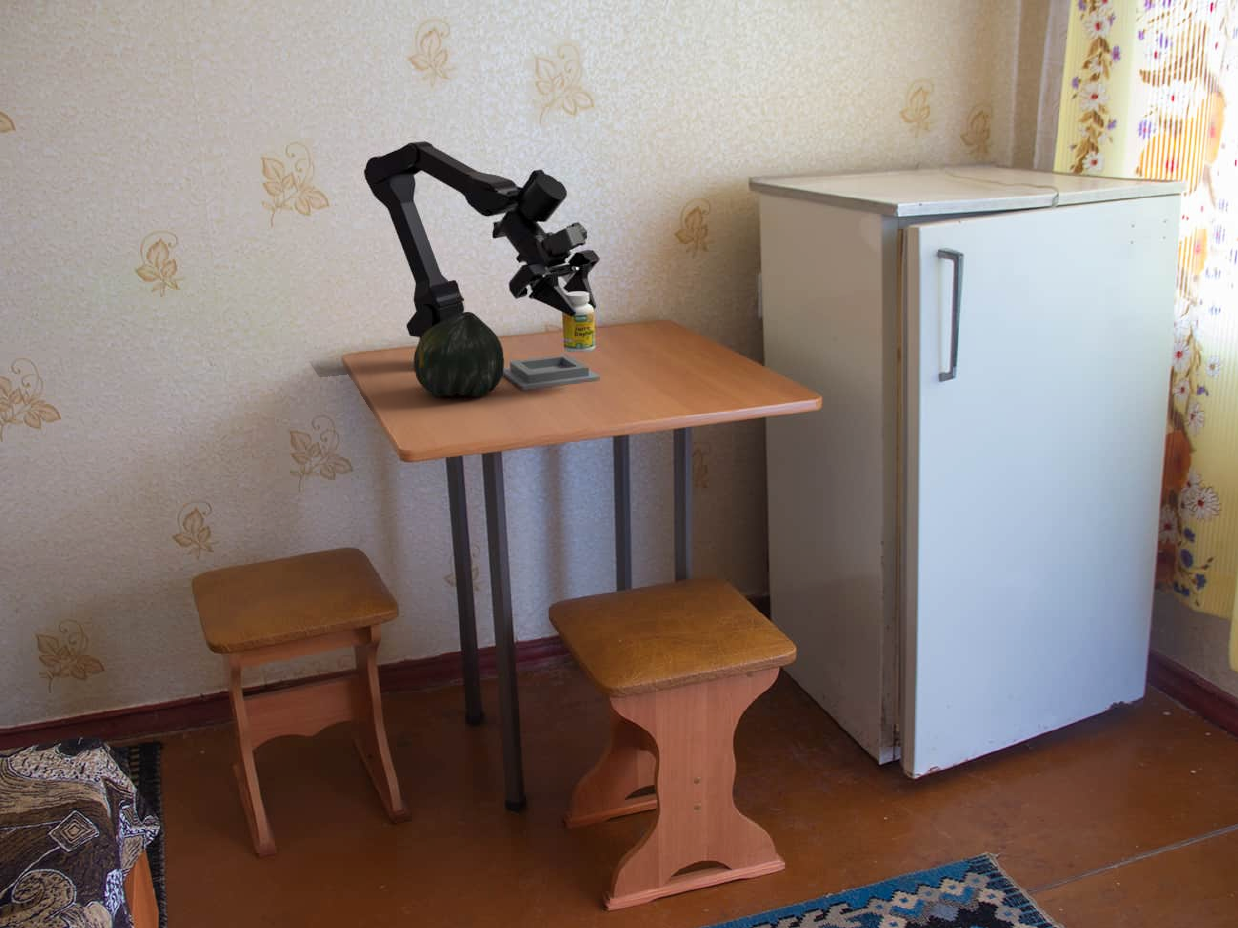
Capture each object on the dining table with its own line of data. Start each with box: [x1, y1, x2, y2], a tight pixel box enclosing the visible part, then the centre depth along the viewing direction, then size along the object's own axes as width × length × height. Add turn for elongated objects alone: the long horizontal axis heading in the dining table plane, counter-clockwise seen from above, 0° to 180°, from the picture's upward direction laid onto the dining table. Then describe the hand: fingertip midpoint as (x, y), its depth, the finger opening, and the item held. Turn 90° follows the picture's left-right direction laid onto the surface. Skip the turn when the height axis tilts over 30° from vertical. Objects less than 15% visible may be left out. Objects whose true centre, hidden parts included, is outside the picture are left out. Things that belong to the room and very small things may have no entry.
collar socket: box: [502, 354, 601, 391], centre depth 206 cm, size 14×14×2 cm
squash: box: [413, 311, 505, 398], centre depth 195 cm, size 14×15×15 cm
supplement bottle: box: [561, 291, 596, 354], centre depth 195 cm, size 5×5×10 cm
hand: (584, 311), depth 194 cm, fingers closed on supplement bottle, 5 cm apart
